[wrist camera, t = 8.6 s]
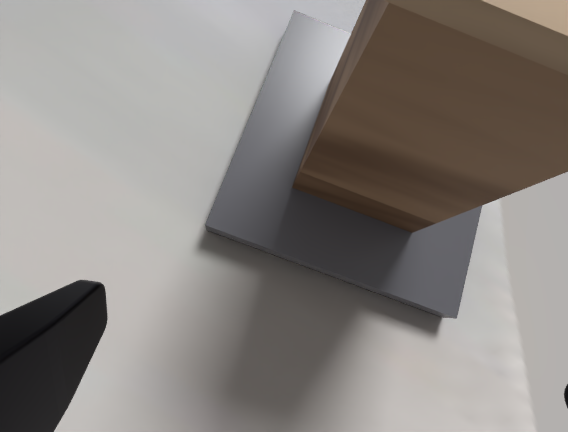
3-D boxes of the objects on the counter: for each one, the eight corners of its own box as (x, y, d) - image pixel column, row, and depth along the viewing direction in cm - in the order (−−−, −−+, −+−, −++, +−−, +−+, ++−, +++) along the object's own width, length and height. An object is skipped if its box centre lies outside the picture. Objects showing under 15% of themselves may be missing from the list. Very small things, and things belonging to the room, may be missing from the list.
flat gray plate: (442, 317, 19) (481, 319, 16) (206, 229, 18) (202, 216, 15) (492, 107, 22) (532, 76, 19) (290, 26, 21) (300, -18, 18)
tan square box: (413, 235, 18) (746, 110, 6) (289, 188, 18) (401, -33, 6) (443, 122, 20) (756, -146, 8) (329, 77, 20) (481, -271, 8)
